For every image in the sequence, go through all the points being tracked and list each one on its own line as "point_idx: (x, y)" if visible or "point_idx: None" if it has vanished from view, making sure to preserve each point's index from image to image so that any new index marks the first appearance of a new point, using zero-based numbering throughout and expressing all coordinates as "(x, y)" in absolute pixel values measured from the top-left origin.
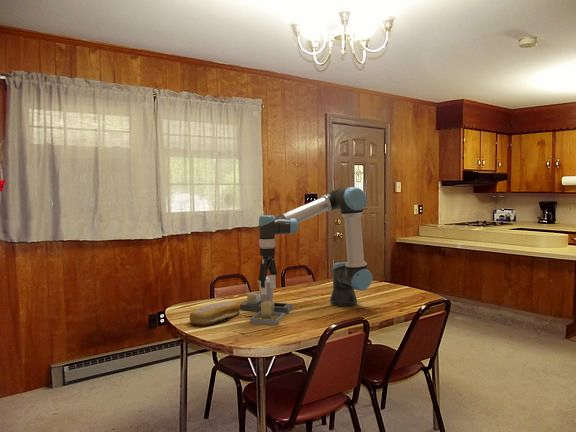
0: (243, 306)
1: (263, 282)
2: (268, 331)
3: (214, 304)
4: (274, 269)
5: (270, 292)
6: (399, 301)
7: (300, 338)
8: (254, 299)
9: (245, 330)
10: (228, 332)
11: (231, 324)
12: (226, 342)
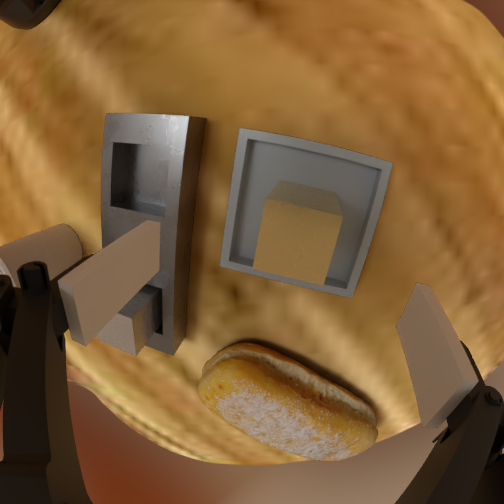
0: (176, 338)
1: (481, 386)
2: (467, 197)
3: (278, 440)
4: (13, 340)
5: (37, 248)
6: None
7: None
8: (144, 314)
9: (442, 292)
10: None
11: (359, 350)
12: None
